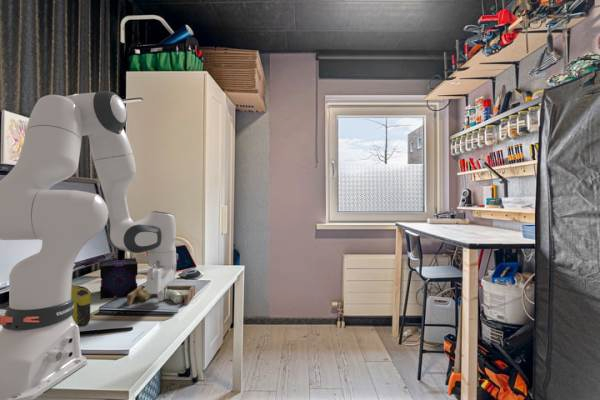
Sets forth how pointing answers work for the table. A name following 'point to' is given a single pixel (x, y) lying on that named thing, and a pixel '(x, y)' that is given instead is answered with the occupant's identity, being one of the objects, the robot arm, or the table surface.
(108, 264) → the energy cube
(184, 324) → the table surface
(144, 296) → the brass bushing
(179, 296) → the pipe fitting
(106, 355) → the table surface
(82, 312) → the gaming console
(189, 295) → the corral
